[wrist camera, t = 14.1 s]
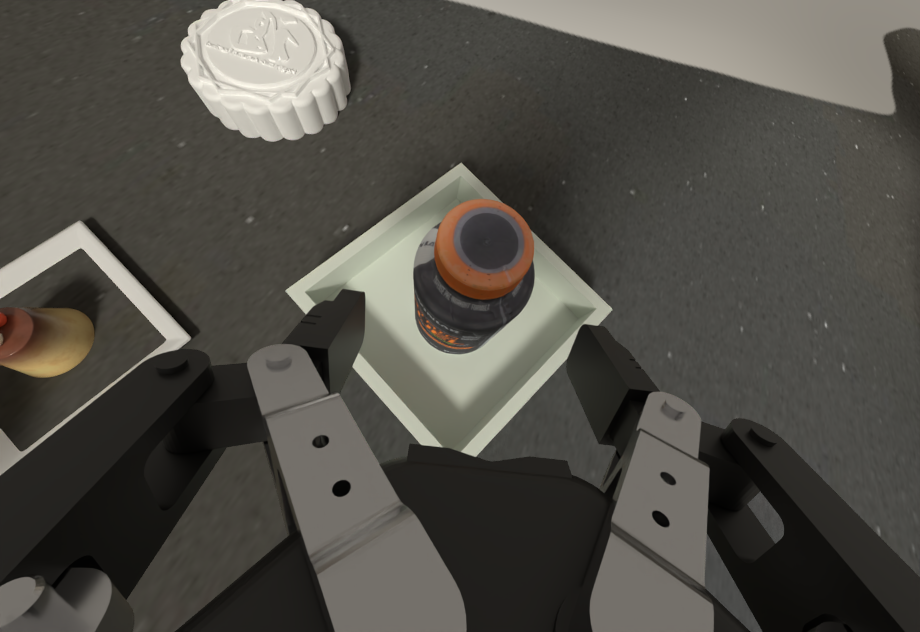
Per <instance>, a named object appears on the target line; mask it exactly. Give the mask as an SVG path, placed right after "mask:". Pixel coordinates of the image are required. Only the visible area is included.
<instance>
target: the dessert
mask: <svg viewBox="0 0 920 632" xmlns="http://www.w3.org/2000/svg"><path fill="white" fill-rule="evenodd" d="M80 248H82V249H83V250H84V251H85V252H86V253H87V254H88V255H89V256H90V257H91V258H92V259H93V260H94V261H95V263H96V264H97V265H98V266H99V267H100V268H101V269H102V270H103V271H104V272H105V273H106V274H107V275H108V277H109V278H110V279H111V280H112V281H113V282H114V283H115V284H116V285H117V286H118V287H119V288H120V290H121V291H122V292H123V293H124V294H125V295H126V296H127V297H128V298H129V299H130V300H131V301H132V302H133V304H134V305H135V306H136V307H137V308H138V309H139V310H140V311H141V312H142V313H143V314H144V315H145V317H146V318H147V319H148V320H149V321H150V322H151V323H152V324H153V325H154V326H155V327H156V328H157V329H158V331H159V332H160V333H161V334H162V335H163V336H164V337H165V338H166V342H165V343H164V344H162V345H161V346H160V347H158V348H157V349H156V350H155V351H153V352H152V353H151V354H149V355H148V356H147V357H145V358H144V359H143V360H142V361H140V362H139V363H138V364H136V365H135V366H134V367H133V368H131V369H130V370H129V371H127V372H126V373H125V374H123V375H122V376H121V377H120V378H118V379H117V380H116V381H114V382H113V383H112V384H110V385H109V386H108V387H107V388H105V389H104V390H103V391H101V392H100V393H99V394H97V395H96V396H95V397H94V398H92V399H91V400H90V401H88V402H87V403H86V404H85V405H83V406H82V407H81V408H79V409H78V410H77V411H75V412H74V413H73V414H72V415H70V416H69V417H68V418H66V419H65V420H64V421H62V422H61V423H60V424H59V425H57V426H56V427H55V428H53V429H52V430H51V431H49V432H48V433H47V434H46V435H44V436H43V437H42V438H40V439H39V440H38V441H37V442H35V443H34V444H33V445H31V446H30V447H29V448H27V449H26V450H25V451H22V452H21V451H19V450H18V449H17V448H16V446H15V445H14V444H13V443H12V442H11V440H10V439H9V438H8V437H7V436H6V434H5V433H4V432H3V431H2V430H1V428H0V475H1V474H3V473H4V472H5V471H6V470H8V469H9V468H10V467H11V466H13V465H14V464H15V463H16V462H18V461H19V460H20V459H21V458H23V457H24V456H25V455H27V454H28V453H29V452H30V451H32V450H33V449H34V448H35V447H37V446H38V445H39V444H40V443H42V442H43V441H44V440H45V439H47V438H48V437H49V436H50V435H52V434H53V433H54V432H55V431H57V430H58V429H59V428H60V427H62V426H63V425H64V424H65V423H67V422H68V421H69V420H71V419H72V418H73V417H74V416H76V415H77V414H78V413H79V412H81V411H82V410H83V409H84V408H86V407H87V406H88V405H89V404H91V403H92V402H93V401H94V400H96V399H97V398H98V397H99V396H101V395H102V394H103V393H104V392H106V391H107V390H108V389H109V388H111V387H112V386H113V385H115V384H116V383H117V382H118V381H120V380H121V379H122V378H123V377H125V376H126V375H127V374H128V373H130V372H131V371H132V370H133V369H135V368H136V367H137V366H138V365H140V364H141V363H142V362H144V361H145V360H147V359H149V358H151V357H153V356H156V355H158V354H161V353H165V352H168V351H173V350H178V349H179V348H181V347H182V346H183V345H185V344H186V343H187V342H188V341H190V340H191V337H190V336H189V334H188V333H187V332H186V331H185V330H184V329H183V328H182V327H181V326H180V325H179V324H178V323H177V322H176V321H175V320H174V319H173V317H172V316H171V315H170V314H169V313H168V312H167V311H166V310H165V309H164V308H163V307H162V306H161V305H160V304H159V303H158V302H157V300H156V299H155V298H154V297H153V296H152V295H151V294H150V293H149V292H148V291H147V290H146V289H145V288H144V287H143V286H142V284H141V283H140V282H139V281H138V280H137V279H136V278H135V277H134V276H133V275H132V274H131V273H130V272H129V271H128V270H127V269H126V267H125V266H124V265H123V264H122V263H121V262H120V261H119V260H118V259H117V258H116V257H115V256H114V255H113V254H112V253H111V252H110V250H109V249H108V248H107V247H106V246H105V245H104V244H103V243H102V242H101V241H100V240H99V239H98V238H97V237H96V236H95V235H94V233H93V232H92V231H91V230H90V229H89V228H88V227H87V226H86V225H85V224H84V223H83V222H82V221H77V222H76V223H74V224H72V225H71V226H69V227H67V228H66V229H64V230H63V231H61V232H59V233H58V234H56V235H54V236H53V237H51V238H50V239H48V240H46V241H45V242H43V243H41V244H40V245H38V246H36V247H35V248H33V249H32V250H30V251H28V252H27V253H25V254H23V255H22V256H20V257H19V258H17V259H15V260H14V261H12V262H10V263H9V264H7V265H6V266H4V267H2V268H1V269H0V298H2V297H3V296H5V295H7V294H8V293H10V292H11V291H13V290H14V289H16V288H18V287H19V286H21V285H22V284H24V283H26V282H27V281H29V280H30V279H32V278H33V277H35V276H37V275H38V274H40V273H41V272H43V271H44V270H46V269H48V268H49V267H51V266H52V265H54V264H55V263H57V262H59V261H60V260H62V259H63V258H65V257H66V256H68V255H70V254H71V253H73V252H74V251H76V250H78V249H80ZM93 341H94V327H93V324H92V322H91V320H90V319H89V318H88V317H87V316H86V315H85V314H84V313H82V312H80V311H78V310H75V309H70V308H33V307H6V308H0V365H2V366H5V367H8V368H11V369H14V370H17V371H19V372H22V373H24V374H27V375H29V376H33V377H52V376H56V375H59V374H62V373H64V372H67V371H69V370H70V369H72V368H73V367H75V366H76V365H77V364H79V363H80V362H81V361H82V360H83V359H84V358H85V357H86V355H87V354H88V352H89V351H90V349H91V347H92V344H93Z"/></svg>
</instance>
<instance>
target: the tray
mask: <svg viewBox="0 0 920 632" xmlns="http://www.w3.org/2000/svg"><path fill="white" fill-rule="evenodd" d="M473 199H489V200H495V201H498V202H501V201H500V200H499V199H498V198H497V197H496V196H495V195H494V194H493V193H492V192H491V191H490V190H489V189H488V188H487V187H486V186H485V185H484V184H483V183H482V182H481V181H480V180H479V179H478V178H476V177H475V176H474V175H473V174H472V173H471V172H470V171H469V170H468V169H467V168H466V167H465V166H464V165H463V164H462V163H460V164H459V165H457V166H456V167H454V168H453V169H452V170H450V171H449V172H448V173H446V174H445V175H443V176H442V177H441V178H439V179H438V180H437V181H435V182H434V183H433V184H431V185H430V186H428V187H427V188H426V189H424V190H423V191H422V192H420V193H419V194H417V195H416V196H415V197H413V198H412V199H411V200H409V201H408V202H406V203H405V204H404V205H402V206H401V207H400V208H398V209H397V210H395V211H394V212H393V213H391V214H390V215H389V216H387V217H386V218H384V219H383V220H382V221H380V222H379V223H378V224H376V225H375V226H373V227H372V228H371V229H369V230H368V231H367V232H365V233H364V234H362V235H361V236H360V237H358V238H357V239H356V240H354V241H353V242H351V243H350V244H349V245H347V246H346V247H345V248H343V249H342V250H340V251H339V252H338V253H336V254H335V255H334V256H332V257H331V258H330V259H328V260H327V261H325V262H324V263H323V264H321V265H320V266H319V267H317V268H316V269H314V270H313V271H312V272H310V273H309V274H308V275H306V276H305V277H303V278H302V279H301V280H299V281H298V282H297V283H295V284H294V285H292V286H291V287H290V288H288V289H287V290H286V292H287V293H288V294H289V296H290V297H291V298H292V299H293V300H294V301H295V302H296V303H297V305H298V306H299V307H300V308H301V309H302V310H303V311H304V313H305V314H307V313H308V312H309V311H310V309H311V308H312V307H313V306H315V305H317V304H319V303H321V302H323V301H324V300H328V301H334V299H335V298H336V297H337V295H338V294H339V293H340V291H341V290H342V289H348V290H355V291H362V292H365V297H366V301H365V334H364V339H363V343H362V346H361V348H360V351H359V353H358V355H357V357H356V359H355V362H354V364H353V366H352V367H353V368H354V369H355V370H356V371H357V373H358V374H359V375H360V376H361V377H362V378H363V379H364V380H365V382H366V383H367V384H368V385H369V386H370V387H371V388H372V390H373V391H374V392H375V393H376V394H377V395H378V396H379V397H380V399H381V400H382V401H383V402H384V403H385V404H386V405H387V407H388V408H389V409H390V410H391V411H392V412H393V413H394V414H395V416H396V417H397V418H398V419H399V420H400V421H401V422H402V424H403V425H404V426H405V427H406V428H407V429H408V430H409V431H410V433H411V434H412V435H413V436H414V437H415V438H416V439H417V441H418V442H419V443H420V444H421V445H426V446H435V447H445V448H451V449H454V450H457V451H460V452H463V453H466V454H468V455H471V456H474V457H476V456H477V455H478V454H479V453H480V452H481V450H482V449H483V448H484V447H485V446H486V445H487V444H488V443H489V442H490V441H491V440H492V439H493V438H494V437H495V435H496V434H497V433H498V432H499V431H500V430H501V429H502V428H503V427H504V426H505V425H506V424H507V423H508V421H509V420H510V419H511V418H512V417H513V416H514V415H515V414H516V413H517V412H518V411H519V410H520V409H521V407H522V406H523V405H524V404H525V403H526V402H527V401H528V400H529V399H530V398H531V397H532V396H533V395H534V393H535V392H536V391H537V390H538V389H539V388H540V387H541V386H542V385H543V384H544V383H545V382H546V381H547V380H548V378H549V377H550V376H551V375H552V374H553V373H554V372H555V371H556V370H557V369H558V368H559V367H560V366H561V364H562V363H563V362H564V361H565V360H566V359H567V358H568V356H569V353H570V351H571V348H572V346H573V343H574V341H575V338H576V336H577V333H578V331H579V329H580V327H581V326H582V325H583V324H589V325H596V326H598V325H599V324H600V322H601V321H602V320H603V319H604V318H605V317H606V316H607V315H608V314H609V313H610V312H611V311H612V310H613V309H612V308H611V307H610V306H609V305H608V304H607V303H606V302H605V301H604V300H603V299H601V298H600V297H599V296H598V295H597V294H596V293H595V292H594V291H593V290H592V289H591V288H590V287H589V286H588V285H587V284H586V283H585V282H584V281H583V280H582V279H581V278H580V277H579V276H578V275H577V274H576V273H575V272H574V271H573V270H572V269H570V268H569V267H568V266H567V265H566V264H565V263H564V262H563V261H562V260H561V259H560V258H559V257H558V256H557V255H556V254H555V253H554V252H553V251H552V250H551V249H550V248H549V247H548V246H547V245H546V244H545V243H544V242H543V241H542V240H541V239H540V238H538V237H537V236H536V235H535V234H534V233H533V232H532V231H531V233H532V236H533V240H534V256H533V263H534V270H535V280H534V287H533V291H532V294H531V296H530V299H529V301H528V303H527V304H526V306H525V307H524V308H523V310H522V311H521V312H520V314H519V315H518V316H516V317H515V318H514V319H513V320H512V321H511V322H510V323H508V324H507V325H506V326H505V327H504V328H503V329H502V330H501V331H499V332H498V333H497V334H496V335H495V336H494V337H493V338H491V339H490V340H489V341H488V342H487V343H486V344H485V345H484V346H482V347H481V348H479V349H477V350H475V351H473V352H470V353H466V354H448V353H444V352H441V351H439V350H437V349H435V348H434V347H432V346H431V345H430V344H429V343H428V342H427V341H426V340H425V339H424V338H423V336H422V335H421V334H420V332H419V330H418V327H417V324H416V320H415V301H414V281H413V267H414V260H415V255H416V252H417V249H418V247H419V245H420V243H421V241H422V240H423V238H424V237H425V236H426V234H427V233H428V232H429V231H430V230H431V229H432V228H433V227H434V226H436V225H437V224H439V223H440V222H442V220H443V218H444V217H445V216H446V214H447V213H448V212H449V211H451V210H452V209H453V208H454V207H456V206H457V205H459V204H461V203H463V202H466V201H469V200H473ZM501 203H502V202H501Z"/></svg>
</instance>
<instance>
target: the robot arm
mask: <svg viewBox="0 0 920 632" xmlns="http://www.w3.org/2000/svg"><path fill="white" fill-rule="evenodd" d="M365 301H366V297H365V292H362V291H355V290H348V289H342V290H341V291H340V293H339V294H338V295H337V297H336V298H335V299H334V301H328V300H324V301H323V302H321V303H319V304H317V305H315V306H313V307H312V308H311V309H310V311H309V312H308V313H307V314H306V316H305V317H304V318H303V319H302V320H301V323H299V324H298V325H297V326H296V327H295V328H294V330H293V331H292V332H291V333H290V334H289V336H288V337H287V338H286V339H285V340H284V342H283V343H282V344H277V345H272V346H268V347H265V348H262V349H260V350H258V351H257V352H255V353H254V354H253V355H252V356H251V357H250V358H249V360H248V362H247V363H241V364H229V365H216V366H211V362H210V358H209V356H208V355H207V354H206V353H204V352H202V351H199V350H193V349H180V350H173V351H168V352H165V353H161V354H158V355H156V356H153V357H151V358H149V359H147V360H145V361H144V362H142V363H141V364H140V365H138V366H137V367H136V368H135V369H133V370H132V371H131V372H130V373H128V374H127V375H126V376H125V377H123V378H122V379H121V380H120V381H118V382H117V383H116V384H115V385H113V386H112V387H111V388H109V389H108V390H107V391H106V392H104V393H103V394H102V395H101V396H99V397H98V398H97V399H96V400H94V401H93V402H92V403H91V404H89V405H88V406H87V407H86V408H84V409H83V410H82V411H81V412H79V413H78V414H77V415H76V416H74V417H73V418H72V419H71V420H69V421H68V422H67V423H65V424H64V425H63V426H62V427H60V428H59V429H58V430H57V431H55V432H54V433H53V434H52V435H50V436H49V437H48V438H47V439H45V440H44V441H43V442H42V443H40V444H39V445H38V446H37V447H35V448H34V449H33V450H32V451H30V452H29V453H28V454H27V455H25V456H24V457H23V458H21V459H20V460H19V461H18V462H16V463H15V464H14V465H13V466H11V467H10V468H9V469H8V470H6V471H5V472H4V473H3V474H1V475H0V632H133V627H134V613H133V609H132V607H131V606H130V605H129V603H128V602H127V601H126V600H127V598H128V597H129V595H130V594H131V592H132V590H133V589H134V587H135V586H136V584H137V583H138V581H139V580H140V578H141V577H142V575H143V574H144V572H145V571H146V569H147V568H148V566H149V565H150V563H151V562H152V560H153V559H154V557H155V556H156V554H157V553H158V551H159V549H160V548H161V546H162V545H163V543H164V542H165V540H166V539H167V537H168V536H169V534H170V533H171V531H172V530H173V528H174V527H175V525H176V524H177V522H178V521H179V519H180V518H181V516H182V515H183V513H184V512H185V510H186V508H187V507H188V505H189V504H190V502H191V501H192V499H193V498H194V496H195V495H196V493H197V492H198V490H199V489H200V487H201V486H202V484H203V483H204V481H205V480H206V478H207V477H208V475H209V474H210V472H211V471H212V469H213V467H214V466H215V464H216V463H217V461H218V460H219V458H220V457H221V455H222V454H223V452H224V451H225V449H226V448H227V447H231V446H237V445H243V444H250V443H256V442H263V446H264V449H265V453H266V457H267V460H268V464H269V467H270V471H271V474H272V478H273V481H274V485H275V488H276V492H277V495H278V499H279V503H280V507H281V512H282V516H283V520H284V524H285V528H286V531H287V535H288V537H287V538H285V539H284V540H283V541H282V542H281V543H279V544H278V545H277V546H276V547H275V548H274V549H272V550H271V551H270V552H269V553H268V554H266V555H265V556H264V557H263V558H262V559H260V560H259V561H258V562H257V563H256V564H255V565H253V566H252V567H251V568H250V569H249V570H247V571H246V572H245V573H244V574H243V575H242V576H240V577H239V578H238V579H237V580H236V581H234V582H233V583H232V584H231V585H230V586H229V587H227V588H226V589H225V590H224V591H223V592H221V593H220V594H219V595H218V596H217V597H215V598H214V599H213V600H212V601H211V602H210V603H208V604H207V605H206V606H205V607H204V608H202V609H201V610H200V611H199V612H198V613H197V614H195V615H194V616H193V617H192V618H191V619H189V620H188V621H187V622H186V623H185V624H183V625H182V626H181V627H180V628H179V629H178V630H176V631H175V632H750V631H749V630H748V629H747V628H746V627H745V626H744V625H743V624H742V623H741V622H740V621H739V620H738V619H737V618H735V617H734V616H733V615H732V614H731V613H730V612H729V611H728V610H727V609H726V608H725V607H724V606H723V605H722V604H721V603H720V602H719V601H718V600H717V599H716V598H715V597H714V596H713V595H712V594H710V593H709V592H708V591H707V590H706V589H705V584H704V579H705V557H706V535H707V534H708V536H709V537H710V539H711V541H712V543H713V545H714V546H715V548H716V550H717V552H718V553H719V555H720V557H721V559H722V560H723V562H724V564H725V566H726V567H727V569H728V571H729V573H730V575H731V576H732V578H733V580H734V582H735V583H736V585H737V587H738V589H739V590H740V592H741V594H742V596H743V598H744V599H745V601H746V603H747V605H748V606H749V608H750V610H751V612H752V613H753V615H754V617H755V619H756V620H757V622H758V624H759V626H760V628H761V629H762V631H763V632H920V577H919V576H918V575H917V574H916V573H915V572H914V571H913V570H912V569H911V568H910V567H909V566H908V565H907V564H906V563H905V562H904V561H903V560H902V559H901V558H900V557H899V556H898V555H897V554H896V553H895V552H894V551H893V550H892V549H891V548H890V547H889V546H888V545H887V544H886V543H885V542H884V541H883V540H882V539H881V538H880V537H879V536H878V535H877V534H876V533H875V532H874V531H873V530H872V529H871V528H870V527H869V526H868V525H867V524H866V523H865V522H864V521H863V520H862V519H861V518H860V517H859V516H858V515H857V514H856V513H855V512H854V511H853V510H852V508H851V507H850V506H849V505H848V504H847V503H846V502H845V501H844V500H843V499H842V498H841V497H840V496H839V495H838V494H837V493H836V492H835V491H834V490H833V489H832V488H831V487H830V486H829V485H828V484H827V483H826V482H825V481H824V480H823V479H822V478H821V477H820V476H819V475H818V474H817V473H816V472H815V471H814V470H813V469H812V468H811V467H810V466H809V465H808V464H807V463H806V462H805V461H804V460H803V459H802V458H801V457H800V456H799V455H798V454H797V453H796V452H795V451H794V450H793V449H792V448H791V447H790V446H789V445H788V444H787V443H786V442H785V441H784V440H783V439H782V438H781V437H779V436H778V435H777V434H775V433H774V432H772V431H771V430H769V429H768V428H766V427H764V426H762V425H760V424H758V423H755V422H753V421H750V420H746V419H740V418H738V419H734V420H732V421H731V423H730V424H729V425H728V426H727V428H726V429H722V428H719V427H716V426H713V425H710V424H707V423H704V422H701V419H700V416H699V415H698V413H697V412H696V411H695V410H694V409H693V408H692V407H691V406H690V405H689V404H687V403H686V402H685V401H683V400H681V399H680V398H678V397H676V396H673V395H671V394H668V393H664V392H660V391H659V390H658V388H657V387H656V386H655V384H654V383H653V382H652V380H651V379H650V378H649V377H648V375H647V374H646V373H645V371H644V370H643V369H641V366H640V365H639V364H638V362H636V361H635V358H634V357H633V356H632V355H631V353H630V352H629V351H628V350H627V349H626V348H625V347H623V346H622V345H621V344H619V343H618V342H617V341H615V339H614V338H613V337H612V335H611V334H610V333H609V331H608V330H607V329H606V328H605V327H603V326H596V325H589V324H583V325H582V326H581V327H580V329H579V331H578V333H577V336H576V338H575V341H574V343H573V346H572V348H571V351H570V353H569V356H568V359H567V366H566V367H567V373H568V376H569V378H570V380H571V383H572V385H573V387H574V389H575V391H576V394H577V396H578V398H579V400H580V403H581V405H582V407H583V409H584V412H585V414H586V416H587V418H588V421H589V423H590V425H591V427H592V430H593V432H594V434H595V436H596V439H597V441H598V443H599V444H603V445H612V446H615V447H616V451H615V453H614V454H613V456H612V458H611V460H610V463H609V465H608V468H607V470H606V473H605V475H604V478H603V480H602V483H601V485H600V488H599V489H598V488H597V487H595V486H594V485H592V484H590V483H588V482H587V481H585V480H583V479H580V478H578V477H576V476H573V475H571V472H570V469H569V466H568V463H567V461H565V460H555V459H546V458H537V457H523V458H516V459H509V460H502V461H494V462H491V461H486V460H483V459H480V458H477V457H474V456H471V455H468V454H466V453H463V452H460V451H457V450H454V449H451V448H445V447H435V446H426V445H417V444H410V445H409V451H408V457H401V458H396V459H392V460H389V461H386V462H384V463H381V464H379V463H378V461H377V459H376V458H375V456H374V454H373V452H372V451H371V449H370V447H369V445H368V444H367V442H366V440H365V438H364V437H363V435H362V433H361V431H360V430H359V428H358V426H357V424H356V423H355V421H354V419H353V417H352V416H351V414H350V412H349V410H348V408H347V407H346V405H345V403H344V401H343V400H342V398H341V396H340V395H339V394H340V392H341V390H342V388H343V385H344V383H345V381H346V379H347V377H348V375H349V372H350V370H351V368H352V366H353V364H354V362H355V359H356V357H357V355H358V353H359V351H360V348H361V346H362V343H363V339H364V334H365ZM760 491H761V493H762V494H763V495H764V496H765V498H766V499H767V500H768V501H769V503H770V504H771V505H772V507H773V508H774V509H775V510H776V512H777V513H778V514H779V516H780V517H781V519H782V521H783V524H784V536H783V537H782V539H781V540H780V541H778V542H777V543H776V544H775V543H774V541H773V540H772V538H771V537H770V536H769V534H768V533H767V532H766V530H765V529H764V527H763V526H762V525H761V523H760V522H759V520H758V519H757V518H756V516H755V515H754V513H753V512H752V511H751V509H750V508H749V506H748V505H747V504H748V503H749V502H750V501H751V500H752V499H753V498H754V497H755V496H756V495H757V494H758V493H759V492H760Z"/></svg>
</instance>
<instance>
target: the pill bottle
mask: <svg viewBox="0 0 920 632" xmlns="http://www.w3.org/2000/svg"><path fill="white" fill-rule="evenodd" d="M533 256H534V240H533V236H532V233H531V230H530V228H529V226H528V224H527V223H526V221H525V220H524V219H523V218H522V217H521V215H519V214H518V213H517V212H516V211H515V210H514V209H512V208H511V207H509V206H507V205H505V204H504V203H501V202H498V201H495V200H489V199H473V200H469V201H466V202H463V203H461V204H459V205H457V206H456V207H454V208H453V209H452V210H451V211H449V212H448V213H447V214H446V216H445V217H444V218H443V220H442V222H440V223H439V224H437V225H436V226H434V227H433V228H432V229H431V230H430V231H429V232H428V233H427V234H426V236H425V237H424V238H423V240H422V241H421V243H420V245H419V247H418V249H417V252H416V255H415V260H414V267H413V281H414V301H415V320H416V324H417V327H418V330H419V332H420V334H421V335H422V336H423V338H424V339H425V340H426V341H427V342H428V343H429V344H430V345H431V346H432V347H434V348H435V349H437V350H439V351H441V352H444V353H448V354H466V353H470V352H473V351H475V350H477V349H479V348H481V347H482V346H484V345H485V344H486V343H487V342H488V341H489V340H490V339H491V338H493V337H494V336H495V335H496V334H497V333H498V332H499V331H501V330H502V329H503V328H504V327H505V326H506V325H507V324H508V323H510V322H511V321H512V320H513V319H514V318H515V317H516V316H518V315H519V314H520V312H521V311H522V310H523V308H524V307H525V306H526V304H527V303H528V301H529V299H530V296H531V294H532V291H533V287H534V280H535V270H534V263H533Z"/></svg>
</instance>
